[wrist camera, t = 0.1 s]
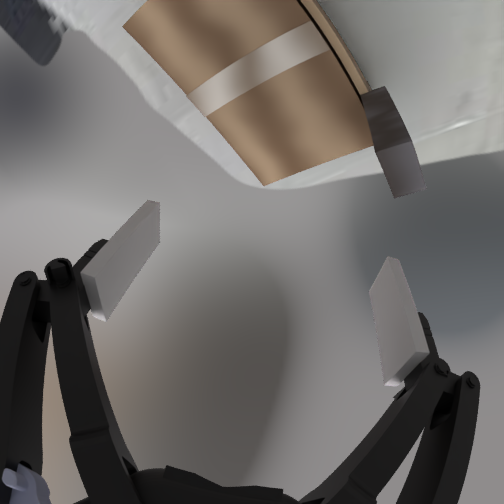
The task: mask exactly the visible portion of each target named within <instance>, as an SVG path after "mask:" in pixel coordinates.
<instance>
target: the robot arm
mask: <svg viewBox="0 0 504 504" xmlns="http://www.w3.org/2000/svg"><path fill="white" fill-rule="evenodd" d="M159 243H160V203H159V202H155V201H150V200H147V201H146V202H145V203H144V204H143V206H142V207H140V208H139V209H138V210H137V211H136V212H135V213H134V214H133V215H132V216H131V217H130V218H129V219H128V221H127V222H126V223H125V224H124V225H123V226H122V227H121V228H120V229H119V230H118V231H117V232H116V233H115V234H114V236H112V237H111V239H110V240H105V239H102V240H100V241H98V242H96V243H94V244H93V245H92V246H91V247H90V248H89V250H88V251H87V252H86V253H85V254H84V256H82V257H81V258H80V259H79V260H78V262H77V263H76V264H75V265H74V266H73V267H72V264H71V262H70V261H69V260H68V259H65V258H57V259H54V260H52V261H50V262H49V263H48V264H47V265H46V266H45V269H44V272H45V275H46V278H47V280H38V278H37V275H36V273H34V272H33V271H25V272H23V273H20V274H19V275H18V276H17V277H16V279H15V280H14V282H13V285H12V288H11V291H10V294H9V297H8V300H7V302H6V306H5V309H4V312H3V315H2V318H1V322H0V504H51V502H50V499H49V495H50V491H49V488H48V485H47V483H46V482H45V480H44V479H43V478H42V477H41V475H42V464H43V452H42V451H43V450H42V404H43V386H44V375H45V365H46V355H47V348H48V342H49V335H50V329H51V327H52V337H53V346H54V353H55V360H56V366H57V373H58V378H59V384H60V389H61V394H62V399H63V403H64V407H65V412H66V416H67V419H68V423H69V427H70V431H71V436H70V438H69V442H70V447H71V451H72V454H73V457H74V460H75V463H76V466H77V468H78V471H79V474H80V477H81V479H82V482H83V484H84V487H85V489H86V492H87V494H88V497H87V498H85V499H83V500H80V501H78V502H76V503H74V504H377V501H376V497H377V496H378V494H379V493H380V492H381V490H382V489H383V488H384V486H385V485H386V484H387V483H388V481H389V480H390V479H391V477H392V476H393V474H394V473H395V471H396V470H397V469H398V468H399V466H400V465H401V463H402V462H403V460H404V459H405V457H406V456H407V454H408V453H409V451H410V450H411V448H412V447H413V445H414V444H415V442H416V440H417V439H418V437H419V435H420V434H421V432H422V430H423V429H424V431H423V435H422V438H421V441H420V444H419V447H418V450H417V453H416V456H415V459H414V461H413V464H412V466H411V469H410V472H409V475H408V477H407V479H406V482H405V484H404V487H403V489H402V491H401V493H400V496H399V498H398V500H397V502H396V504H457V503H458V500H459V497H460V494H461V491H462V487H463V484H464V480H465V476H466V473H467V469H468V464H469V460H470V455H471V450H472V446H473V440H474V435H475V428H476V422H477V414H478V405H479V395H480V382H479V380H478V378H477V377H476V375H475V374H474V373H472V372H470V371H467V372H465V373H464V374H463V375H462V376H458V375H456V374H454V373H452V372H451V371H450V368H449V366H448V364H447V363H446V362H445V361H444V360H442V359H441V358H439V356H438V353H437V349H436V346H435V342H434V339H433V337H432V333H431V330H430V326H429V323H428V320H427V319H426V318H425V316H424V315H423V313H420V312H417V309H416V306H415V303H414V300H413V297H412V295H411V292H410V289H409V286H408V283H407V281H406V278H405V275H404V272H403V270H402V267H401V265H400V262H399V260H398V259H395V258H391V257H387V258H386V260H385V262H384V264H383V266H382V268H381V270H380V272H379V274H378V276H377V277H376V279H375V281H374V283H373V285H372V287H371V288H370V291H369V295H370V300H371V305H372V310H373V315H374V321H375V326H376V333H377V339H378V345H379V351H380V358H381V365H382V372H383V381H384V385H388V386H398V385H399V384H400V383H401V382H402V381H403V380H404V383H405V387H404V388H403V389H402V390H401V391H399V392H398V393H397V394H396V395H395V396H394V397H393V398H395V399H394V401H393V402H392V404H391V405H390V406H389V408H388V409H387V410H386V412H385V413H384V414H383V416H382V417H381V418H380V420H379V421H378V422H377V424H376V425H375V426H374V427H373V428H372V430H371V431H370V432H369V433H368V434H367V436H366V437H365V438H364V439H363V440H362V441H361V443H360V444H359V445H358V446H357V447H356V448H355V450H354V451H353V452H352V453H351V454H350V455H349V456H348V457H347V458H346V459H345V460H344V462H343V463H342V464H341V465H340V466H339V467H338V468H337V469H336V470H335V471H334V472H333V473H332V474H331V475H330V476H329V477H328V478H327V479H326V480H325V481H324V482H323V483H322V484H321V485H320V486H318V487H317V488H316V489H315V490H313V491H311V492H310V493H308V494H307V495H306V496H305V497H303V498H302V499H301V500H300V501H299V502H298V501H297V500H295V499H294V498H292V497H290V496H288V495H286V494H283V489H278V488H269V487H261V486H241V487H222V486H220V485H218V484H215V483H213V482H211V481H209V480H207V479H205V478H203V477H201V476H199V475H197V474H195V473H192V472H188V471H184V470H181V469H177V468H174V467H171V466H168V465H167V466H166V468H165V469H162V468H158V469H157V468H156V469H147V470H142V471H139V470H138V468H137V466H136V464H135V462H134V460H133V458H132V456H131V454H130V452H129V450H128V449H127V446H126V444H125V442H124V439H123V437H122V434H121V432H120V429H119V427H118V424H117V421H116V418H115V416H114V413H113V410H112V407H111V404H110V401H109V398H108V395H107V392H106V389H105V385H104V382H103V379H102V375H101V372H100V368H99V365H98V360H97V357H96V353H95V349H94V345H93V340H92V336H91V331H90V327H89V322H88V317H87V313H88V311H89V310H90V309H91V312H92V314H93V317H95V318H97V319H100V320H103V321H105V322H107V320H108V319H109V317H110V315H111V314H112V312H113V311H114V309H115V307H116V306H117V304H118V303H119V301H120V300H121V298H122V297H123V295H124V294H125V292H126V291H127V289H128V288H129V286H130V285H131V283H132V281H133V280H134V279H135V277H136V276H137V274H138V273H139V271H140V270H141V268H142V267H143V266H144V264H145V263H146V261H147V260H148V258H149V257H150V256H151V254H152V253H153V251H154V250H155V249H156V247H157V246H158V244H159ZM424 427H425V428H424Z"/></svg>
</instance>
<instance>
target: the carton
mask: <svg viewBox="0 0 504 504" xmlns="http://www.w3.org/2000/svg"><path fill="white" fill-rule="evenodd" d="M122 27H123V28H124V29H125V30H126V31H127V32H128V33H129V34H130V35H131V36H132V37H133V38H134V39H135V40H136V41H137V42H138V43H139V44H140V45H141V46H142V47H143V48H144V49H145V51H146V52H147V53H148V54H149V55H150V56H151V57H152V58H153V59H154V60H155V61H156V62H157V63H158V64H159V65H160V66H161V67H162V68H163V70H164V71H165V72H166V73H167V74H168V75H169V76H170V77H171V78H172V79H173V80H174V82H175V83H176V84H177V85H178V86H179V87H180V88H181V89H182V90H183V91H184V93H185V94H186V95H187V98H188V99H189V100H190V101H191V102H192V103H193V104H194V105H195V107H196V108H197V109H198V110H199V111H200V112H201V113H202V114H203V116H204V117H207V119H208V120H209V121H210V122H211V123H212V124H213V126H214V127H215V128H216V129H217V130H218V131H219V133H220V134H221V135H222V136H223V137H224V138H225V140H226V141H227V142H228V143H229V144H230V146H231V147H232V148H233V149H234V150H235V152H236V153H237V154H238V155H239V156H240V158H241V159H242V160H243V161H244V162H245V164H246V165H247V166H248V167H249V169H250V170H251V171H252V172H253V173H254V175H255V176H256V177H257V178H258V180H259V181H260V182H261V183H262V185H263V186H265V185H268V184H270V183H273V182H275V181H278V180H280V179H283V178H286V177H288V176H291V175H293V174H296V173H298V172H301V171H304V170H306V169H309V168H312V167H314V166H317V165H320V164H322V163H325V162H328V161H331V160H333V159H336V158H339V157H342V156H345V155H347V154H350V153H353V152H356V151H359V150H362V149H365V148H368V147H371V146H374V145H373V140H372V136H371V132H370V128H369V124H368V121H367V117H366V113H365V110H364V106H363V103H362V99H361V96H360V94H359V92H358V90H357V88H356V86H355V84H354V82H353V81H352V79H351V77H350V75H349V73H348V72H347V70H346V68H345V66H344V65H343V63H342V61H341V60H340V58H339V56H338V55H337V53H336V51H335V50H334V48H333V47H332V45H331V43H330V42H329V40H328V39H327V37H326V36H325V34H324V33H323V31H322V30H321V28H320V27H319V25H318V24H317V22H316V21H315V20H314V18H313V17H312V15H311V14H310V13H309V11H308V10H307V8H306V7H305V6H304V4H303V3H302V2H301V0H148V1H147V2H145V3H144V4H143V5H142V6H141V7H140V8H139V9H138V10H137V12H136V13H135V14H134V15H133V16H132V17H131V18H130V19H129V20H128V21H127V22H126V23H125V24H124V25H123V26H122Z"/></svg>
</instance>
